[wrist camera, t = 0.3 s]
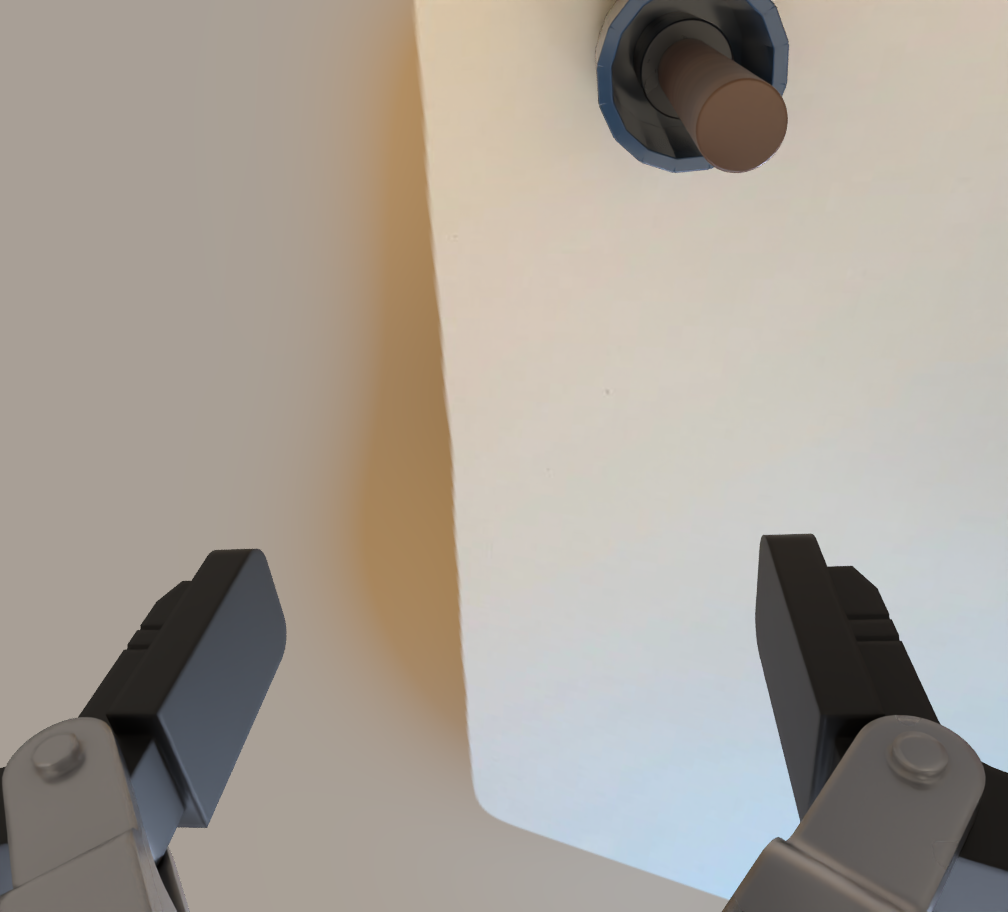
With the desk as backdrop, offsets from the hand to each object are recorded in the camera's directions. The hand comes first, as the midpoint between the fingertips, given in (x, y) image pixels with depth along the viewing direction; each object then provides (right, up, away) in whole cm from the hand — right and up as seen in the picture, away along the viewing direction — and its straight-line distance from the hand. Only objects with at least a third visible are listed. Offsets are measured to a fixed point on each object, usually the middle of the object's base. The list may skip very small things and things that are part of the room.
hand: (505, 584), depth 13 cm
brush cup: (+7, +18, +20) cm, 28 cm away
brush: (+7, +18, +20) cm, 27 cm away
